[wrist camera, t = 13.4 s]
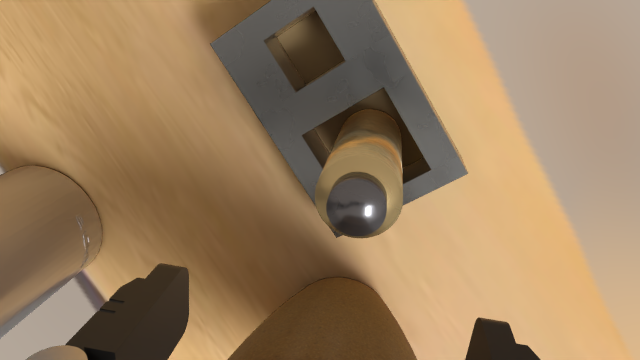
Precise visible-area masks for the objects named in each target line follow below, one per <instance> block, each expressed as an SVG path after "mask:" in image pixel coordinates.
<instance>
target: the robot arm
mask: <svg viewBox="0 0 640 360" xmlns="http://www.w3.org/2000/svg"><path fill="white" fill-rule="evenodd" d="M101 242H102V228H101V222H100V218H99V216H98V213H97V211H96V208H95V206H94V205H93V203H92V202H91V200H90V198H89V197H88V196H87V194H86V193H85V192H84V191H83V190H82V189H81V188H80V186H78V185H77V184H76V183H75V182H73V181H72V180H71V179H70V178H68V177H66V176H65V175H63V174H61V173H60V172H58V171H55V170H52V169H49V168H47V167H41V166H34V165H33V166H22V167H19V168H16V169H13V170H11V171H8V172H6V173H4V174H1V175H0V338H1V337H3V336H4V335H5V334H6V333H7V332H9V330H11V329H12V328H13V327H15V326H16V325H17V324H18V323H19V322H20V321H22V320H23V319H24V318H25V317H26V316H28V315H29V314H30V313H31V312H32V311H34V310H35V309H36V308H37V307H38V306H40V305H41V304H42V303H43V302H44V301H46V300H47V299H48V298H49V297H50V296H52V295H53V294H54V293H55V292H56V291H58V290H59V289H60V288H61V287H63V286H64V285H65V284H66V283H67V282H68V281H70V280H71V279H72V278H73V277H74V276H76V275H77V274H78V273H79V272H80V271H82V270H83V269H84V268H85V267H86V266H88V265H89V264H90V263H91V262H92V261H93V260H94V259H95V257H96V255H97V254H98V252H99V249H100V246H101ZM188 317H189V273H188V269H187V268H185V267H179V266H173V265H168V264H162V263H161V264H158V265H157V266H156V267H155V269H154V270H153V271H152V272H151V273H150V274H149V275H148V276H147V277H146V279H142V278H136V279H135V280H133V281H131V282H129V283H127V284H125V285H123V286H122V287H120V288H119V289H118V290H117V292H116V293H115V294H114V295H113V296H112V297H111V298H110V299H109V301H107V302H106V303H105V304H104V305H103V306H102V307H101V308H100V311H97V312H96V313H95V314H94V316H92V318H91V319H90V320H89V321H88V322H87V323H86V324H85V325H84V326H83V327H82V328H81V329H80V330H79V331H78V332H77V333H76V334H75V335H74V336H73V337H72V338H71V339H70V340H69V341H68V342H67V343H66V345H62V346H55V347H50V348H47V349H44V350H41V351H39V352H37V353H35V354H33V355H31V356H30V357H28V358H27V359H26V360H167V359H168V358H169V356H170V355H171V353H172V352H173V350H174V348H175V347H176V345H177V344H178V342H179V341H180V339H181V337H182V336H183V334H184V332H185V329H186V326H187V323H188ZM465 360H540V359H539V358H538V356H537V355H536V354H535V353H534V352H533V351H532V350H531V349H530V348H529V346H527V345H521V344H516V342H515V339H514V336H513V334H512V331H511V328H510V325H509V324H508V323H507V322H503V321H497V320H491V319H485V318H477V320H476V322H475V325H474V329H473V333H472V336H471V340H470V344H469V348H468V352H467V355H466V359H465Z"/></svg>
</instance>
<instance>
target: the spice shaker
mask: <svg viewBox="0 0 640 360" xmlns="http://www.w3.org/2000/svg"><path fill="white" fill-rule="evenodd" d="M315 203H316V207H317V210H318V212H319V214H320V216H321V218H322V219H323V221H324V222H325V223H326V224H327V225H328V226H329V227H330V228H332V229H333V230H334V231H336V232H338V233H340V234H342V235H345V236H348V237H353V238H368V237H373V236H376V235H379V234H381V233H383V232H384V231H386V230H387V229H389V228H390V227H391V226H392V225H393V224H394V223H395V221H396V220H397V218H398V217H399V215H400V212H401V209H402V205H403V180H402V145H401V132H400V129H399V127H398V125H397V123H396V122H395V120H394V119H393V118H392V117H391V116H389V115H388V114H386V113H385V112H382V111H380V110H375V109H366V110H361V111H358V112H356V113H354V114H352V115H351V116H350V117H349V118H348V119H347V120H346V121H345V122H344V124H343V126H342V128H341V130H340V132H339V135H338V137H337V139H336V141H335V144H334V146H333V148H332V150H331V153H330V155H329V157H328V159H327V162H326V164H325V166H324V168H323V171H322V173H321V175H320V177H319V180H318V182H317V185H316V189H315Z"/></svg>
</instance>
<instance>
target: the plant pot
mask: <svg viewBox="0 0 640 360" xmlns="http://www.w3.org/2000/svg"><path fill="white" fill-rule="evenodd" d="M228 360H417V358H416V356H415V354H414V352H413V350H412V348H411V346H410V344H409V342H408V340H407V339H406V337H405V335H404V333H403V331H402V329H401V328H400V326H399V324H398V322H397V321H396V319H395V318H394V316H393V315H392V313H391V311H390V310H389V308H388V307H387V306H386V304H385V303H384V301H383V300H382V299H381V298H380V296H379V295H378V294H377V293H376V292H375V291H374V290H372V289H371V288H370V287H368V286H367V285H365V284H363V283H361V282H358V281H356V280H352V279H348V278H342V277H333V278H326V279H322V280H319V281H316V282H314V283H312V284H311V285H309V286H307V287H306V288H304V289H303V290H302V291H300V292H299V293H297V294H296V295H294V296H293V297H292V298H291V299H289V300H288V301H287V302H285V303H284V304H283V305H282V306H280V307H279V308H278V309H277V310H276V311H275V312H273V313H272V314H271V315H270V316H269V317H268V318H267V319H266V320H265V321H264V322H263V323H262V324H261V325H260V326H259V327H258V328H257V329H256V330H255V331H254V332H253V333H252V334H251V335H250V336H249V337H248V338H247V339H246V340H245V341H244V342H243V343H242V344H241V345H240V346H239V347H238V348H237V350H236V351H235V352H234V353H233V354H232V355H231V356H230V357H229V358H228Z"/></svg>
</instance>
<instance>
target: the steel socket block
mask: <svg viewBox="0 0 640 360" xmlns="http://www.w3.org/2000/svg"><path fill="white" fill-rule="evenodd" d="M314 11H317V13H318V15H319V16H320V18H321V20H322V21H323V23H324V25H325V27H326V28H327V30H328V32H329V33H330V35H331V37H332V39H333V40H334V42H335V44H336V45H337V47H338V49H339V50H340V52H341V54H342V56H343V57H344V59H345V60H344V61H342V62H341V63H339V64H338V65H336V66H334V67H333V68H331V69H330V70H328V71H326V72H325V73H323V74H322V75H320V76H318V77H317V78H315V79H314V80H312V81H310V82H309V83H307V84H305V83H304V81H303V80H302V78H301V76H300V75H299V73H298V71H297V70H296V68H295V67H294V65H293V63H292V62H291V60H290V58H289V57H288V55H287V54H286V52H285V50H284V49H283V47H282V45H281V44H280V42H279V41H278V39H277V36H279V35H280V34H282V33H283V32H285V31H286V30H288V29H289V28H291V27H292V26H294V25H295V24H296V23H298V22H299V21H301V20H302V19H304V18H305V17H307V16H308V15H310V14H311V13H313V12H314ZM210 45H211V46H212V48H213V49H214V51H215V52H216V54H217V55H218V57H219V59H220V60H221V62H222V63H223V65H224V66H225V68H226V69H227V71H228V72H229V74H230V75H231V77H232V78H233V80H234V82H235V83H236V85H237V86H238V88H239V89H240V91H241V92H242V94H243V95H244V97H245V98H246V100H247V101H248V103H249V105H250V106H251V108H252V109H253V111H254V112H255V114H256V115H257V117H258V118H259V120H260V121H261V123H262V124H263V126H264V128H265V129H266V131H267V132H268V134H269V135H270V137H271V138H272V140H273V141H274V143H275V144H276V146H277V147H278V149H279V151H280V152H281V154H282V155H283V157H284V158H285V160H286V161H287V163H288V164H289V166H290V167H291V169H292V170H293V172H294V174H295V175H296V177H297V178H298V180H299V181H300V183H301V184H302V186H303V187H304V189H305V190H306V192H307V193H308V195H309V197H310V198H311V200H312V201H313V203H314V204H315V206H316V203H315V189H316V185H317V182H318V180H319V177H320V175H321V173H322V171H323V168H324V166H325V164H326V162H327V159H328V157H329V155H330V154H329V152H328V151H327V149H326V148H325V146H324V144H323V143H322V141H321V140H320V138H319V137H318V135H317V133H316V132H315V130H314V129H313V128H315V127H317V126H318V125H320V124H322V123H324V122H325V121H327V120H329V119H330V118H332V117H334V116H335V115H337V114H339V113H341V112H342V111H344V110H346V109H347V108H349V107H351V106H353V105H354V104H356V103H358V102H359V101H361V100H363V99H365V98H366V97H368V96H370V95H371V94H373V93H375V92H376V91H378V90H380V89H382V88H383V87H384V88H385V90H386V92H387V93H388V95H389V97H390V99H391V100H392V102H393V104H394V106H395V107H396V109H397V111H398V113H399V114H400V116H401V118H402V119H403V121H404V123H405V125H406V126H407V128H408V130H409V132H410V133H411V135H412V137H413V139H414V140H415V142H416V144H417V146H418V147H419V149H420V151H421V153H422V154H423V156H424V157H423V158H421V159H420V160H418V161H416V162H414V163H412V164H410V165H408V166H406V167H404V168H402V180H403V205H405V204H407V203H409V202H411V201H413V200H415V199H417V198H419V197H421V196H423V195H425V194H427V193H429V192H431V191H434V190H436V189H438V188H440V187H442V186H444V185H446V184H448V183H450V182H452V181H454V180H456V179H458V178H460V177H462V176H464V175H466V174H468V172H467V170H466V167H465V165H464V162H463V160H462V157H461V155H460V154H459V152H458V150H457V148H456V146H455V145H454V143H453V141H452V139H451V137H450V136H449V134H448V132H447V130H446V128H445V127H444V125H443V123H442V121H441V119H440V118H439V116H438V114H437V112H436V110H435V109H434V107H433V105H432V103H431V101H430V100H429V98H428V96H427V94H426V92H425V91H424V89H423V87H422V85H421V83H420V81H419V80H418V78H417V76H416V74H415V72H414V71H413V69H412V67H411V65H410V63H409V62H408V60H407V58H406V56H405V54H404V53H403V51H402V49H401V47H400V45H399V44H398V42H397V40H396V38H395V36H394V35H393V33H392V31H391V29H390V27H389V26H388V24H387V22H386V20H385V18H384V16H383V15H382V13H381V11H380V9H379V7H378V6H377V4H376V2H375V0H271V1H270V2H268V3H267V4H266V5H264V6H263V7H261V8H260V9H259V10H257V11H256V12H254V13H253V14H252V15H250V16H249V17H247V18H246V19H245V20H243V21H242V22H240V23H239V24H237V25H236V26H235V27H233V28H232V29H230V30H229V31H228V32H226V33H225V34H223V35H222V36H221V37H219V38H218V39H216V40H215V41H214V42H212V43H211V44H210ZM403 205H402V206H403ZM330 229H331V230H332V232H333V233H334V235H335V236H336V238H337V237H339V236H341V235H342V234H340V233H338V232H336V231H334V230H333V229H332V228H330Z"/></svg>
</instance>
